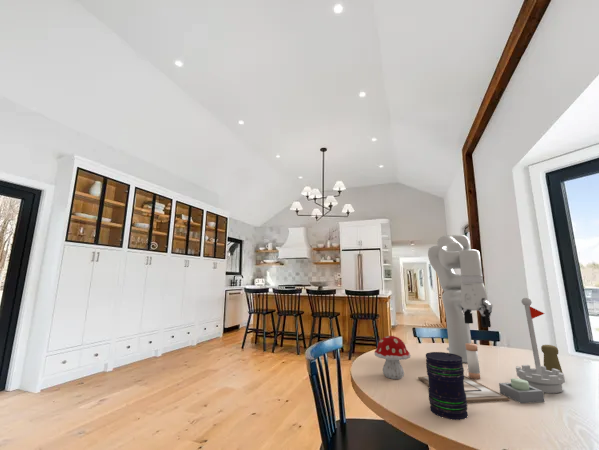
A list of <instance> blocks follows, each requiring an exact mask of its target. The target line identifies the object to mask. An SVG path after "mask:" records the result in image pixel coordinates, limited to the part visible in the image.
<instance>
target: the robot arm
mask: <svg viewBox="0 0 599 450" xmlns="http://www.w3.org/2000/svg"><path fill="white" fill-rule="evenodd" d="M436 244H437V245H434V246H431V247H429V249H428V251H427V257H428V261H429V263H430V266H432V268H433V270H434V271H435V273H436V275H437V278H438V282H439V285H440V287H441V289H442V291H443V293H442V295H441V300H442V305H443V308H444V313H445V320H446V330H447V340H448V347H447V348H446V350H447V351H448V353H451V354H456V355H459V356H461V357H462V363H464V364H465V363H466V364H468V363H467V353H466V346H465V344H466V343H472V336H471V326H470V324H474V319H473V318H474V317H473V313H472V311H474V312H475V311H479V313H480V322H481V328H491V327H492V325H491V324H492V323H491V314H492V310H493V307H494V305H493V304H492V303H491V302H489V300H488V295H487V291H486V287H485V283H484V278H483V277H484V276H483V269H482V261H481V253H480V251H479V250H477V249H470V245H471V244H470V240H469V238H468V237H467V236H466V235H463V234H452V235H451V234H450V235H449V234H448V235H447V234H446V235H442V236H440V237H439V238H438V239H437V243H436ZM457 269H459V270H460V273H456V271H455V270H457Z"/></svg>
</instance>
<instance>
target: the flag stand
mask: <svg viewBox="0 0 599 450" xmlns="http://www.w3.org/2000/svg"><path fill="white" fill-rule="evenodd" d="M532 303H533V302H532V300H531V299H530V298H528V297H524V298H522V299H521V304H522V306H524V310H525V316H526V321H527V325H528V333H529V338H530V344H531V350H532V355H533V359H534V360H533V361H534V366H535V368H531V365H529V364H521V366H518V365H517V366H516V367H515V371H516V375H517V377H518V378H519V379H522V380H526V381H528V383H529V385H530V386H532V387H534V388H537V389H539V390H542V391H543V393H549V394H556V393H557V394H558V393H562V392H563V391H564V389H563V384H564V383H565V382H566V381H565V374H564V372H563V373H561V372H560V370H557V369H554V368H553V369H552V371H549V370H546V367H545V366H544V365H542V364H541V359H540V355H539V348H538V344H537V339H536V338H537V337H536V332H535V328H534V322H533V319H535V318H538V317H540V316H542V315H544V314H545V313H544V312H543V311H541V310H539V309H537V308H534V307H532V306H531V305H532Z"/></svg>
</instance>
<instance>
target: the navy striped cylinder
mask: <svg viewBox="0 0 599 450" xmlns="http://www.w3.org/2000/svg"><path fill="white" fill-rule="evenodd" d="M425 358H426V359H425V362H426V363H425V365H426V374H427V376H428V378H429V386H428V388H427V389H428V400H429V405H430V406H429V409H430V412H431V413H432V414H434V415H435V416H436V417H439V416H440V417H439V418H442V417H443V418H442V419H446V420H451V419H452V420H451V421H461V420H460V419H463V420H466V419H467V418H468V417H469V413H468V403H467V400H466V393H465V391H464V381H463V380H464V376H465V374H464V373H465V370H464V364H463V363H462V357H461V356H459V355H456V354H451V353H449V352H442V351H431V352H427V353H426V354H425ZM467 416H468V417H467ZM465 418H466V419H465Z"/></svg>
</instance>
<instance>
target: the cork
mask: <svg viewBox="0 0 599 450" xmlns="http://www.w3.org/2000/svg"><path fill="white" fill-rule="evenodd" d="M540 349H541V353H543V366H545V367H546V370H549V371H552V369H553V368H554V369H557V370H560V372H561V373H563V374H564V372H563V369H562V366H561V363H560V361H559V360H560V359H559V349H558V347H557V346H556V345H552V344H542V345H541V347H540Z"/></svg>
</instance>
